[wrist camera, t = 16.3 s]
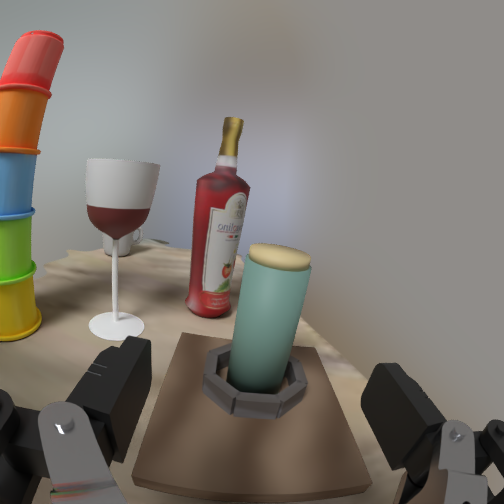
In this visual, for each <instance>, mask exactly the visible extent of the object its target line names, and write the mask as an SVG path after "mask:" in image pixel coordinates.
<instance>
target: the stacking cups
mask: <svg viewBox="0 0 504 504" xmlns="http://www.w3.org/2000/svg"><path fill="white" fill-rule="evenodd" d="M32 32H34V34H31V33H32ZM63 49H64V45H63V39H62V38H61V37H60V36H59V35H57V34H55V33H52V32H49V31H41V30H38V31H37V30H36V31H30V32H27V33H25V34H23V35H22V36H21V38H19V39H18V40H17V41H16V43H15V45H14V48H13V50H12V52H11V54H10V57H9V59H8V61H7V64H6V66H5V69H4V72H3V74H2V77H1V80H0V341H13V340H18V339H21V338H24V337H27V336H29V335H30V334H32V333H33V332H35V331H36V330H37V329H38V327H39V326H40V324H41V321H42V315H41V312H40V310H39V309H38V308H37V307H36V303H35V295H34V284H33V274H34V273H35V271H36V264H35V262H34V261H32V260H31V219H32V215H33V214H34V213H35V209H34V208H33V207H31V204H32V191H33V181H34V173H35V165H36V158H37V154H40V152H41V151H40V150H37V145H38V140H39V135H40V130H41V125H42V121H43V117H44V113H45V108H46V104H47V101H48V99H50V97H51V96H52V94H51V92H50V91H49V90H50V87H51V83H52V80H53V77H54V74H55V71H56V68H57V65H58V63H59V60H60V57H61V54H62V52H63Z"/></svg>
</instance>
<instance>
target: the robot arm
mask: <svg viewBox="0 0 504 504" xmlns="http://www.w3.org/2000/svg"><path fill="white" fill-rule="evenodd" d="M151 380H152V366H151V341H150V340H147V339H143V338H138V337H134V336H130V335H129V336H127V337H126V339H125V340H124V342H123V343H122V345H121V346H120V348H118V347H114V346H111V347H109V348H107V349H106V350H104V351H102V352H100V354H99V355H98V356H97V358H96V359H95V360H94V362H93V364H91V366H90V367H89V368H88V371H87V372H86V373H85V374H84V375H83V377H82V378H81V380H80V381H79V382H78V384H77V385H76V387H75V388H74V390H73V391H72V392H71V394H70V395H69V397H68V398H67V400H66V401H65V402H54V403H51V404H49V405H47V406H45V407H44V408H43V409H42V410H41V411H37V410H32V409H27V408H22V407H17V406H15V405H14V403H13V401H12V399H11V397H10V395H9V394H8V393H7V392H5V391H4V390H2V389H0V504H31V503H32V500H33V498H34V495H35V493H36V490H37V488H38V485H39V483H40V480H41V478H42V477H46V478H51V481H52V485H53V491H51V492H50V496H51V501H52V504H127V502H126V500H125V498H124V496H123V495H122V493H121V491H120V489H119V487H118V485H117V484H116V482H115V480H114V479H113V477H112V474H111V472H110V470H109V467H110V464H111V462H112V460H114V461H117V462H120V463H123V462H124V459H125V456H126V453H127V450H128V447H129V445H130V442H131V439H132V436H133V434H134V431H135V428H136V425H137V423H138V420H139V417H140V415H141V412H142V409H143V407H144V404H145V402H146V399H147V396H148V394H149V391H150V387H151ZM361 408H362V411H363V413H364V415H365V417H366V419H367V421H368V423H369V425H370V427H371V429H372V431H373V433H374V435H375V437H376V439H377V441H378V443H379V445H380V447H381V449H382V451H383V453H384V455H385V457H386V459H387V461H388V463H389V465H390V467H391V469H392V471H393V470H397V469H401V468H404V467H405V468H406V471H405V472H404V474H403V475H402V477H401V481H400V484H399V487H398V490H397V493H396V496H395V499H394V502H393V504H504V488H503V489H502V491H501V492H500V493H499V494H497V495H496V496H494V495H493V493H492V492H491V490H490V488H489V486H488V481H487V477H486V476H484V475H481V474H482V473H483V472H484V471H485V470H486V469H487V468H488V467H489V466H490V465H491V464H492V462H494V464H495V465H496V467H497V468H498V470H499V472H500V473H501V475H502V476H503V477H504V422H503V421H501V420H491V421H490V422H489V423H488V424H487V426H486V427H485V429H484V430H483V431H476V432H473V431H472V430H471V429H470V427H469V426H468V425H466V424H465V423H463V422H461V421H458V420H450V421H447V420H446V419H445V418H444V416H443V415H442V414H441V413H440V411H439V410H438V409H437V407H436V406H435V405H434V403H433V402H432V401H431V400H430V398H428V396H427V395H426V393H425V392H423V390H422V388H421V387H420V386H419V385H418V383H417V382H416V381H414V380H413V379H412V378H410V377H409V376H408V375H407V374H406V373H405V372H404V371H403V369H402V368H401V367H400V365H399V364H397V363H379V364H377V365H376V366H375V368H374V370H373V372H372V374H371V377H370V379H369V381H368V383H367V385H366V387H365V389H364V391H363V393H362V396H361Z"/></svg>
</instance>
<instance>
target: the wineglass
mask: <svg viewBox="0 0 504 504" xmlns="http://www.w3.org/2000/svg"><path fill="white" fill-rule="evenodd" d="M159 169H160V165H158V164H154V163H147V162H140V161H131V160H119V159H99V158H95V159H94V158H92V159H87V166H86V179H85V185H86V203H87V212H88V216H89V219H90V221H91V222H92V224H93V225H94V226H95V227H96V228H98V229H99V230H100V231H102V232H103V233H105V234H107V235H108V236H110V237H111V238H112V239H113V250H112V303H113V312H106V313H103V314H99V315H97V316H95V317H94V318H92V319H91V320H90V323H89V328H90V331H91V332H92V333H93V334H94V335H96V336H98V337H100V338H103V339H107V340H115V341H121V340H125V339H126V337H127V336H129V335H130V336H134V337H137V336H138V335H139V334H141V333H142V331H143V330H144V323H143V322H142V320H141V319H139V318H138V317H136V316H134V315H131V314H128V313H123V312H119V311H118V254H119V239H120V238H122V237H123V236H125V235H127V234H129V233H131V232H133V231H135V230H136V229H138V228H139V227H140V226H141V225H142V224H143V223H144V222H145V220H146V219H147V216H148V214H149V211H150V207H151V204H152V201H153V197H154V193H155V189H156V185H157V180H158V175H159Z"/></svg>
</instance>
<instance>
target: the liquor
mask: <svg viewBox="0 0 504 504" xmlns="http://www.w3.org/2000/svg"><path fill="white" fill-rule="evenodd" d="M243 123H244V121H243V120H242V119H239V118H234V117H226V118H225V120H224V125H223V140H222V144H221V147H220V151H219V155H218V159H217V163H216V167H215V171H214V172H212V173H209V174H206V175H204V176H202V177H201V178H199V179H198V180H197V186H196V197H195V206H194V217H193V234H192V252H191V267H190V282H189V296H188V297H187V298H186V300H185V303H186V305H187V306H188V307H189V308H190V309H191V310H192V312H193V313H195V314H196V315H198V316H201V317H205V318H215V317H218V316H220V315H222V314H223V313H225V312H226V311H228V310H229V309H230V308H231V305H230V302H229V294H230V288H231V282H232V276H233V271H234V265H235V260H236V255H237V250H238V245H239V240H240V236H241V231H242V226H243V222H244V217H245V211H246V206H247V200H248V196H249V191H250V187H249V185H248V184H247V183H246V182H245V181H244V180H243V179H241V178H240V177H238V176H237V175H236V171H237V155H238V141H239V138H240V136H241V133H242V129H243Z"/></svg>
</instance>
